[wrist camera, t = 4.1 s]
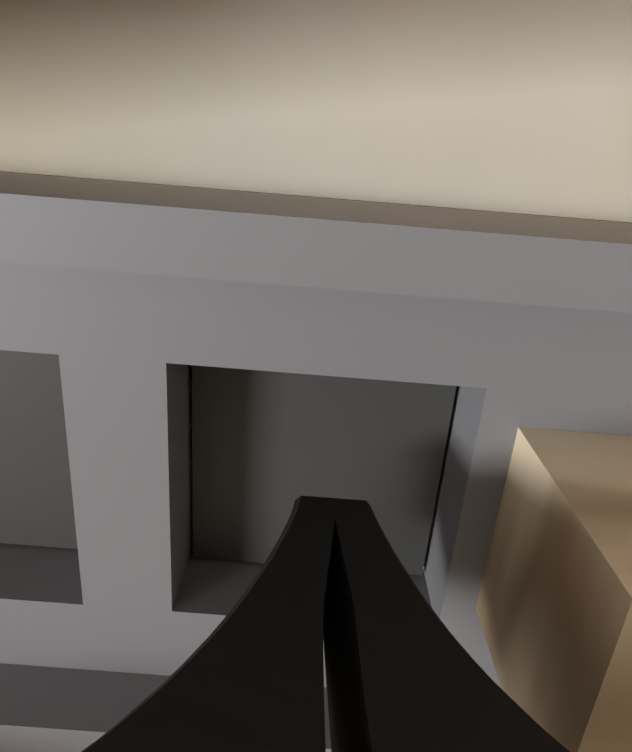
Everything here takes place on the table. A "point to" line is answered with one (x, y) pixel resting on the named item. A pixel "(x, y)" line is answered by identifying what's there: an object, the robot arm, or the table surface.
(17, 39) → the table surface
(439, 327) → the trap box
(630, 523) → the block
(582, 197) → the table surface
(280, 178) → the table surface
